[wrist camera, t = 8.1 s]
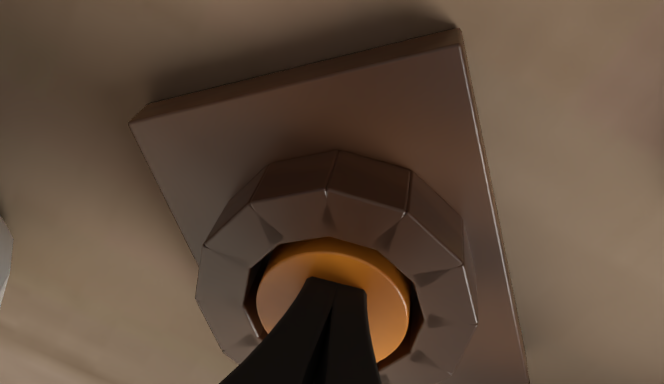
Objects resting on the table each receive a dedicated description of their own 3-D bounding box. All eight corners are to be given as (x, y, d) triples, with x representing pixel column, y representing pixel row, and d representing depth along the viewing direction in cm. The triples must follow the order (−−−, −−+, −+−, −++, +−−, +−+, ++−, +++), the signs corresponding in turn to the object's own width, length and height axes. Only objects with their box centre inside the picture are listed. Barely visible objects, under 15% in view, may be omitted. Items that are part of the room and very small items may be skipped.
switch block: (526, 355, 18) (538, 443, 15) (276, 377, 20) (251, 457, 17) (460, 26, 13) (463, 74, 11) (146, 103, 15) (87, 157, 13)
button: (426, 312, 16) (424, 363, 14) (298, 327, 17) (284, 375, 15) (393, 197, 14) (386, 241, 13) (253, 221, 15) (233, 264, 14)
